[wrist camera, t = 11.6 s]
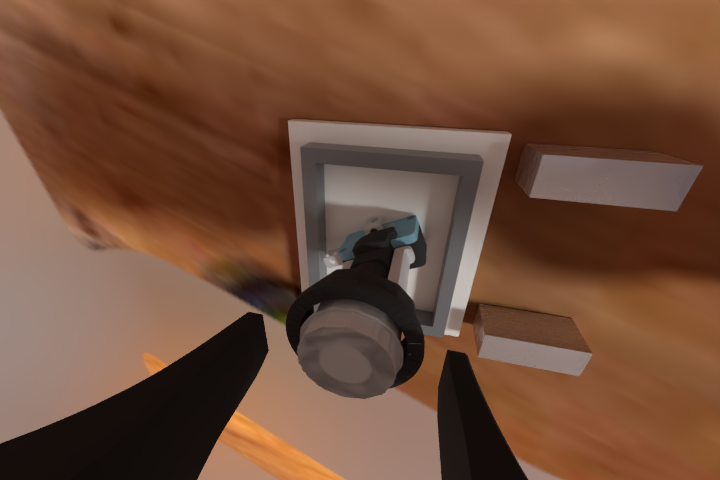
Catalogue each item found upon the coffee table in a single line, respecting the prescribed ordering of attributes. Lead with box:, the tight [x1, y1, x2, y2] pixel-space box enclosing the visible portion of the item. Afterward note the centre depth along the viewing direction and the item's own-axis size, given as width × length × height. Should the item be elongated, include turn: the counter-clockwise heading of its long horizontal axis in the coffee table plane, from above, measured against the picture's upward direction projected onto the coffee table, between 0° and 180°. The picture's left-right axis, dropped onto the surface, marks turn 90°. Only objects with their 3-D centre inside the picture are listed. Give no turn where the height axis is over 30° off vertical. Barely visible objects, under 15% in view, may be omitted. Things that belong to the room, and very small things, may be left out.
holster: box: [473, 143, 703, 376], centre depth 17 cm, size 6×13×3 cm, turn 178°
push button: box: [286, 215, 427, 399], centre depth 15 cm, size 7×5×10 cm
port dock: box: [288, 119, 512, 338], centre depth 19 cm, size 12×14×2 cm
